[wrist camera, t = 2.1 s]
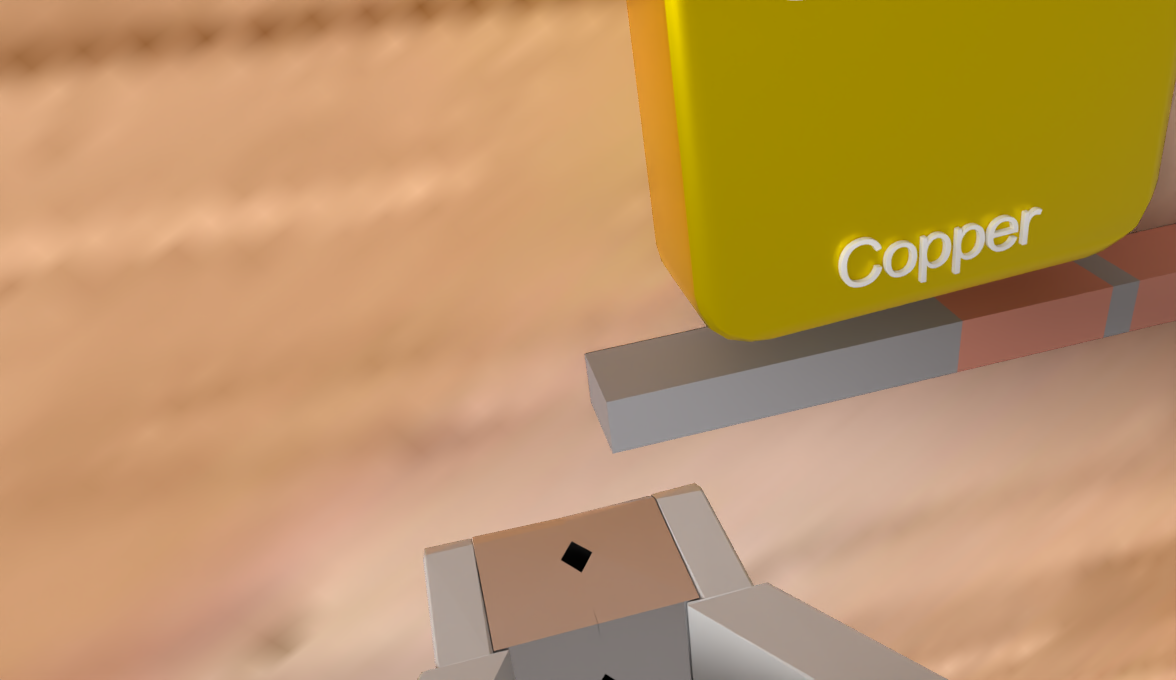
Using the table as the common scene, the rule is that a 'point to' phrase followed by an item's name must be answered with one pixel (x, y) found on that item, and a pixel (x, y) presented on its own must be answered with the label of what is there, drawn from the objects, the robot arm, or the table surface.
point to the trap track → (878, 345)
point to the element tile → (891, 145)
